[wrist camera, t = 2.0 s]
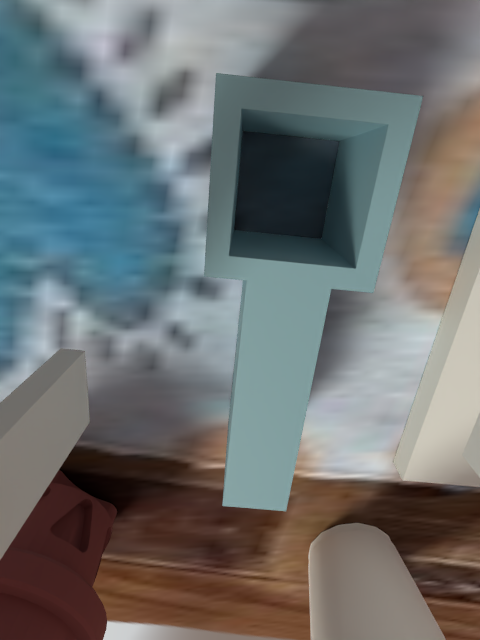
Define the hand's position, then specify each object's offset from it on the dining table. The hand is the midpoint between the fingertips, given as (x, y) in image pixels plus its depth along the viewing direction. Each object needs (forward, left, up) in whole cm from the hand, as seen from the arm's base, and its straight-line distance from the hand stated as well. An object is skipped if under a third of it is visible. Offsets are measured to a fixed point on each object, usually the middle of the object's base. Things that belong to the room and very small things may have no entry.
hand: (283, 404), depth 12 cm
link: (-1, 0, -8) cm, 8 cm away
